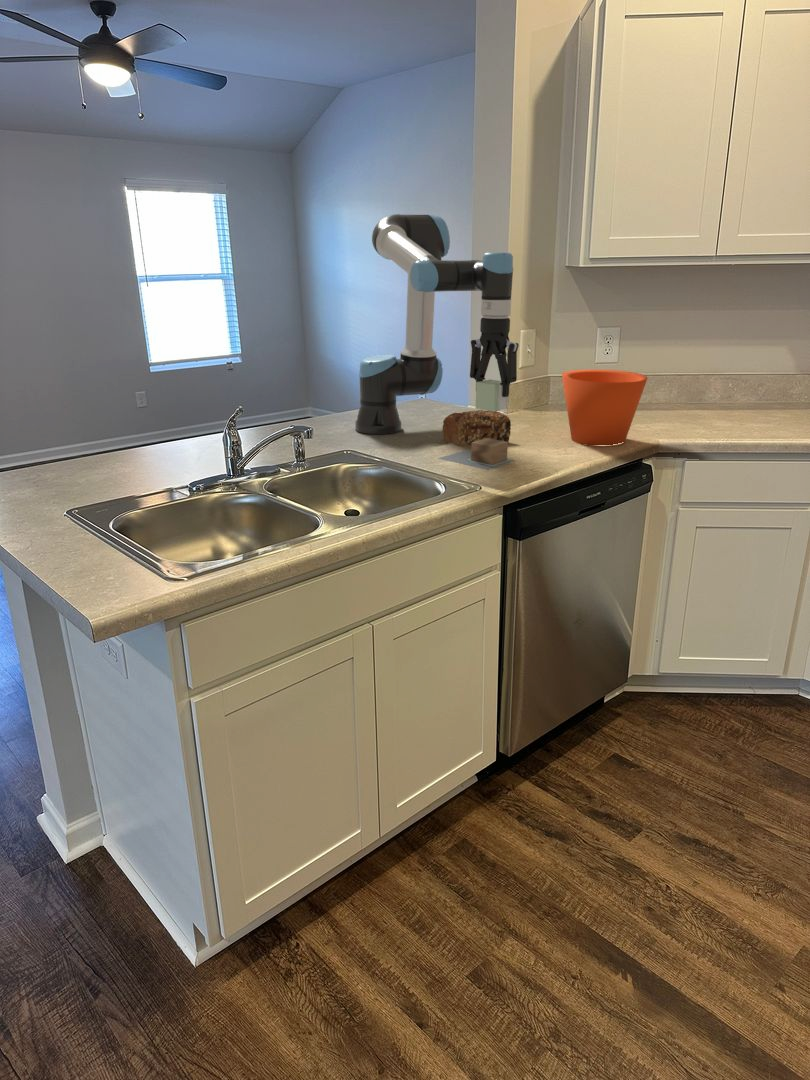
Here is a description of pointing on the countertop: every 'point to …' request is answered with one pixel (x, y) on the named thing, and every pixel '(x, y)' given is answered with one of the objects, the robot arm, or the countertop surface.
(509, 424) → the bread
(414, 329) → the robot arm
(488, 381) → the green block
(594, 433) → the flowerpot
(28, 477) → the countertop surface
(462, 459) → the build mat
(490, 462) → the walnut base
